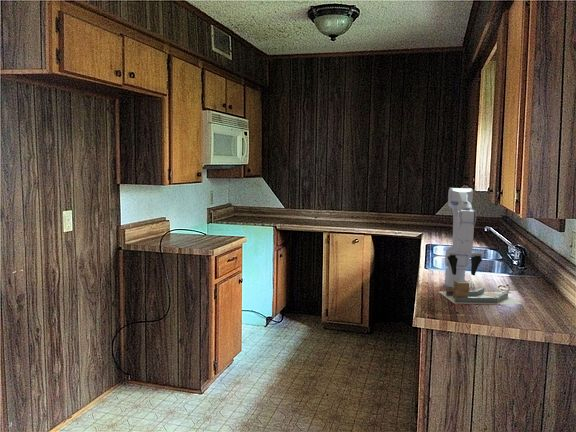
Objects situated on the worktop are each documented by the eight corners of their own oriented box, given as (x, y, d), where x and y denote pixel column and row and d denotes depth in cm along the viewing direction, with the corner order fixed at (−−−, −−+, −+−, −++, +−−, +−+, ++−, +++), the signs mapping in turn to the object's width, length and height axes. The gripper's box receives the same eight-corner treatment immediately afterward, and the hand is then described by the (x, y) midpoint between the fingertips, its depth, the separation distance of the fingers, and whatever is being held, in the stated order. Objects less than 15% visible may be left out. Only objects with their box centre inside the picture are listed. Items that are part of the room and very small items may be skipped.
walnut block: (452, 297, 202) (453, 280, 201) (463, 297, 202) (464, 280, 201) (456, 300, 197) (458, 283, 197) (468, 300, 198) (469, 283, 197)
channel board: (438, 292, 211) (438, 291, 211) (500, 293, 212) (501, 291, 212) (454, 304, 193) (454, 303, 193) (522, 305, 194) (522, 303, 194)
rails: (441, 291, 210) (441, 287, 210) (499, 292, 211) (499, 287, 211) (455, 302, 194) (456, 297, 194) (518, 303, 195) (518, 298, 195)
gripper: (451, 240, 193) (449, 275, 193) (487, 242, 193) (485, 277, 194) (444, 239, 200) (442, 272, 200) (480, 240, 200) (478, 274, 201)
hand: (463, 274), depth 198 cm, fingers open, 7 cm apart
